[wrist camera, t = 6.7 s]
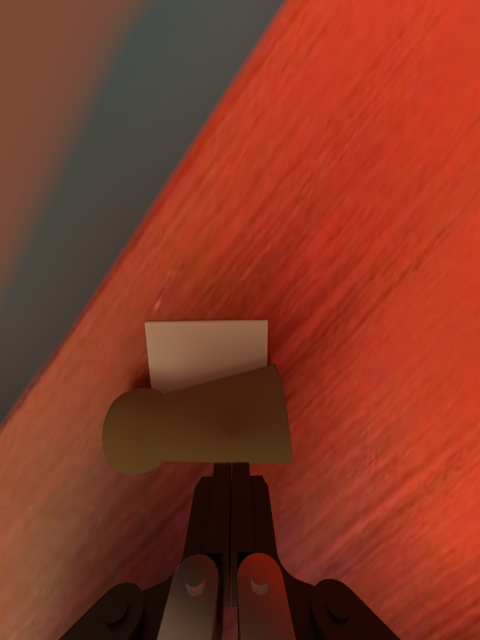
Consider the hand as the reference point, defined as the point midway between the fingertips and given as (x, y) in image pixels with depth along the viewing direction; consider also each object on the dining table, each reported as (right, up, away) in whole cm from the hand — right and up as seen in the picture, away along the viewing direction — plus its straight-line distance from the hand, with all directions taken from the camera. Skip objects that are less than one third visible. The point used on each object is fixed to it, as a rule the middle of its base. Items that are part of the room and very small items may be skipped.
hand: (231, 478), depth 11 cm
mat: (-2, +2, +8) cm, 9 cm away
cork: (+3, +1, +5) cm, 7 cm away
